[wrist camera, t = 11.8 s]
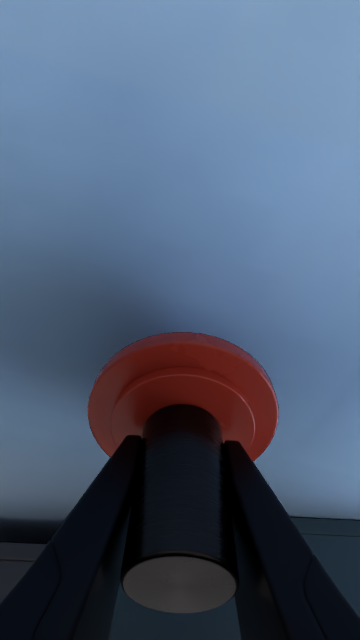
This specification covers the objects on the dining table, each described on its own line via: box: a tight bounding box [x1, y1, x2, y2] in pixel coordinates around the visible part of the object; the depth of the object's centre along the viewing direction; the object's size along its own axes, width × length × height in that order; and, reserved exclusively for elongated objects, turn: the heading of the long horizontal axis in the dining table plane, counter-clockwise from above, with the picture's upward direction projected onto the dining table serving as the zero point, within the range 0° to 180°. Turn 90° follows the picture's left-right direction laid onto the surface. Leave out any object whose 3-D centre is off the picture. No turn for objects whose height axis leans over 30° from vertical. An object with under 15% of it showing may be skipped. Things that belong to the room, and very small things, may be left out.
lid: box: [88, 332, 279, 613], centre depth 9 cm, size 6×6×5 cm
